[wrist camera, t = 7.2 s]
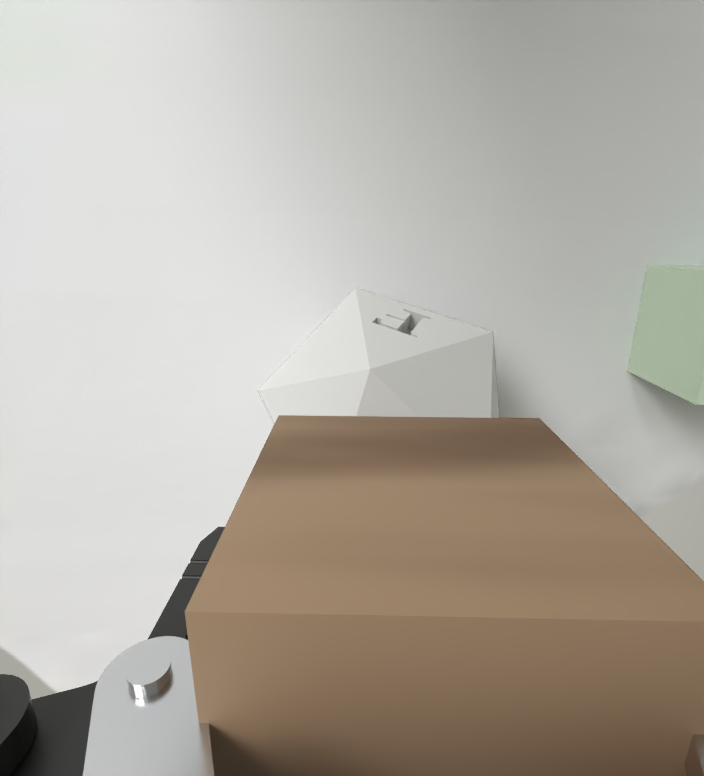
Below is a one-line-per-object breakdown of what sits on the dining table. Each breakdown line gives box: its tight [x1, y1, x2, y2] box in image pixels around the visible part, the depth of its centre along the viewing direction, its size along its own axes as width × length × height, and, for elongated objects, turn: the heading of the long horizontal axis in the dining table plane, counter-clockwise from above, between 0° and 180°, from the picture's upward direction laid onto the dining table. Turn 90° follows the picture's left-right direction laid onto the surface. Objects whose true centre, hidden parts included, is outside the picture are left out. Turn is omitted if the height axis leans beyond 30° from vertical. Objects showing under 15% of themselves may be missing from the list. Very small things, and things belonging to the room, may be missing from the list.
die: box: [257, 288, 499, 424], centre depth 17 cm, size 8×9×10 cm
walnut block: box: [185, 415, 704, 776], centre depth 8 cm, size 6×6×6 cm
